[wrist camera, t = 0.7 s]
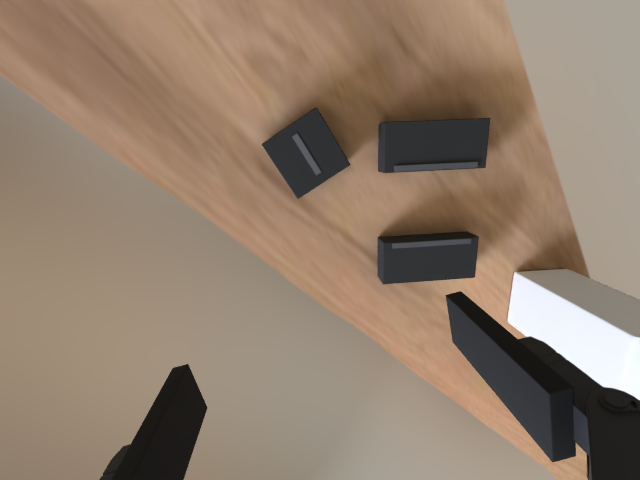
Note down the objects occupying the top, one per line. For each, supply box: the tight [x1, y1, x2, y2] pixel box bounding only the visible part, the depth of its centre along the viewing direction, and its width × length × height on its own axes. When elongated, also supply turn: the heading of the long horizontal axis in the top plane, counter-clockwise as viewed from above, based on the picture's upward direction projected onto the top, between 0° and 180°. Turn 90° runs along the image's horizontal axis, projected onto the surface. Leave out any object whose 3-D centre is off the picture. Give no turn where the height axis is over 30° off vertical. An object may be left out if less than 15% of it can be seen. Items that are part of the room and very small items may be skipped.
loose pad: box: [262, 108, 350, 199], centre depth 33 cm, size 6×6×3 cm
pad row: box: [378, 118, 490, 284], centre depth 36 cm, size 18×11×3 cm, turn 2°
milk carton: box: [508, 269, 640, 400], centre depth 32 cm, size 7×7×19 cm
